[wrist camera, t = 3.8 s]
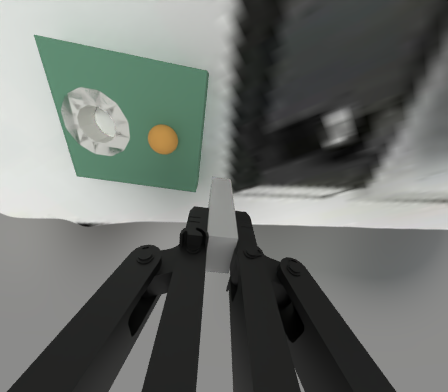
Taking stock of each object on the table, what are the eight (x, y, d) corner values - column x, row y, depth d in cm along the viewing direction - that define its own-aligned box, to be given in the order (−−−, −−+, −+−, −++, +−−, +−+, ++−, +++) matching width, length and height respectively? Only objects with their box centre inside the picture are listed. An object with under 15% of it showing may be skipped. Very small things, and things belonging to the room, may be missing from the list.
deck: (61, 43, 23) (33, 34, 20) (209, 73, 25) (207, 70, 22) (92, 167, 32) (76, 176, 29) (198, 182, 34) (195, 192, 31)
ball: (152, 120, 24) (141, 124, 21) (181, 125, 25) (174, 130, 21) (154, 147, 26) (144, 155, 23) (180, 151, 27) (174, 160, 23)
